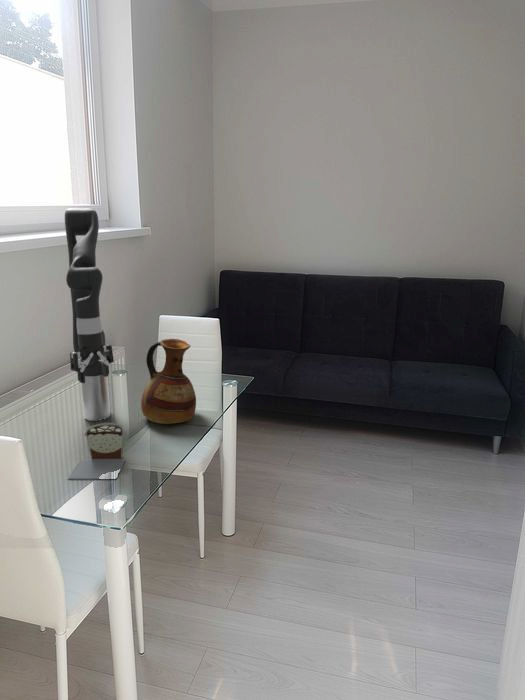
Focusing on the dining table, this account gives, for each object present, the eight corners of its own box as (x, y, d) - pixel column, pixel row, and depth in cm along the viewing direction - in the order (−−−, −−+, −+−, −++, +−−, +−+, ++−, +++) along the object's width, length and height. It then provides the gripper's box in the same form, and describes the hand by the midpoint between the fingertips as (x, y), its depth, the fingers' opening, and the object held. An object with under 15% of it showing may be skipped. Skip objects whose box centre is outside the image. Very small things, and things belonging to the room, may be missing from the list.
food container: (130, 450, 171) (128, 422, 168) (126, 459, 165) (124, 430, 162) (92, 450, 170) (89, 422, 167) (86, 459, 164) (83, 430, 161)
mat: (80, 460, 164) (79, 459, 163) (125, 460, 164) (125, 459, 164) (68, 479, 153) (67, 478, 153) (116, 479, 153) (116, 478, 153)
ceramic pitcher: (186, 432, 183) (183, 350, 175) (132, 427, 187) (127, 346, 179) (203, 410, 202) (202, 335, 193) (154, 406, 206) (150, 332, 197)
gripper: (102, 325, 175) (106, 372, 179) (62, 333, 164) (68, 382, 168) (115, 328, 170) (119, 376, 174) (75, 336, 160) (81, 387, 164)
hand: (94, 379), depth 171 cm, fingers open, 8 cm apart
